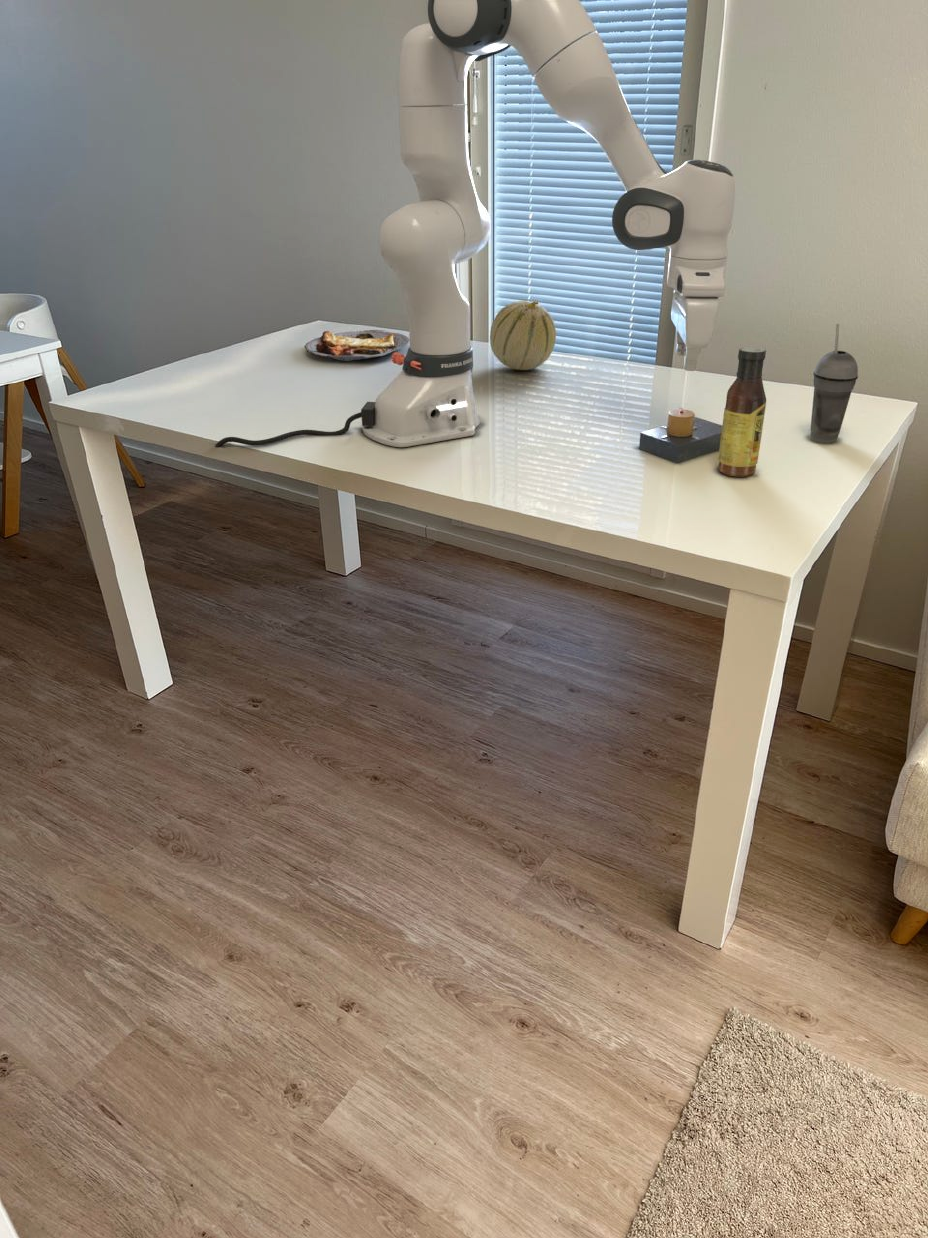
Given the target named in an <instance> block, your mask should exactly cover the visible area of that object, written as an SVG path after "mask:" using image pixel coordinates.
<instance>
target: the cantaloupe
mask: <svg viewBox="0 0 928 1238" xmlns="http://www.w3.org/2000/svg"><path fill="white" fill-rule="evenodd" d="M556 327H557V326H556V324H555V321H554V319H553V317H552V316H551V314H550V313H549V312H548V310H547V309H546V308H544V307H543V306H542V305H539V302H538V300H534V301H528V300H519V301H514V302H511V303H508V304H507V305H505V306H504V307H502V308H501V309H500V310H499V311H498V312H497V314H496V315H495V317H494V319H493V321H492V324H491V326H490V331H489V344H490V349H491V351H492V354H493V355H494V357H495V358H496V359H497V360H498V361H499V362H500V363H501V364H502V365H504V366H505V367H508V368H509V369H510V370H514V371H515V370H516V371H531V370H534V369H536V368H538V367H540V366H542V365H543V364H544V363H546V362H547V360H548V359H549V358H550V357H551V354H552V353H553V351H554V349H555V345H556V339H557V328H556Z"/></svg>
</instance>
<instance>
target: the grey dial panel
mask: <svg viewBox="0 0 928 1238" xmlns="http://www.w3.org/2000/svg"><path fill="white" fill-rule="evenodd" d="M722 425H723V424H719V423H716V422H713V421H710V420H707V419H703V418H700V417H697V416H695V417H694V425H693V434H692V435H690V436H687V437H676V436H671V435H669V434H667V424H666V425H660V426H658V427H655V428H651V429H648V430H645V431H641V432H640V433H639V444H638V449H639V450H641V451H643V452H647V453H649V454H652V455H655V456H657V457H659V458H663V459H664V460H668V461H671V462H674V463H675V464H679V463H682V462H685V461H689V460H691V459H694V458H698V457H701V456H705V455H707V454H710V453H713V452H715V451H719V450H720V441H721V433H722Z"/></svg>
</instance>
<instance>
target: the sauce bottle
mask: <svg viewBox="0 0 928 1238" xmlns="http://www.w3.org/2000/svg"><path fill="white" fill-rule="evenodd" d="M766 352H767V350H766V348H764V347H760V346H742V347H739V349H738V354H737V360H738V365H737V371H736V378H735V380H734V382H732V383H731V385H730V386H729V388H728V390H727V392H726V400H725V407H724V409H723V410H724V412H723V419H722V424H721V425H722V433H721V441H720V449H719V450H718V459H717V461H718V466H717V468H718V471H719V472H720V473H722V474H723V475H725V476H730V477H739V478H740V477H741V478H743V477H748V476H752V475H753V474H755V472H756V469H757V464H758V462H759V455H760V447H761V441H762V435H763V428H764V422H765V421H764V420H765V414H766V407H767V395H766V392H765V388H764V387H765V386H764V383H763V368H764V361H765V359H766V356H767V355H766V354H767V353H766Z"/></svg>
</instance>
